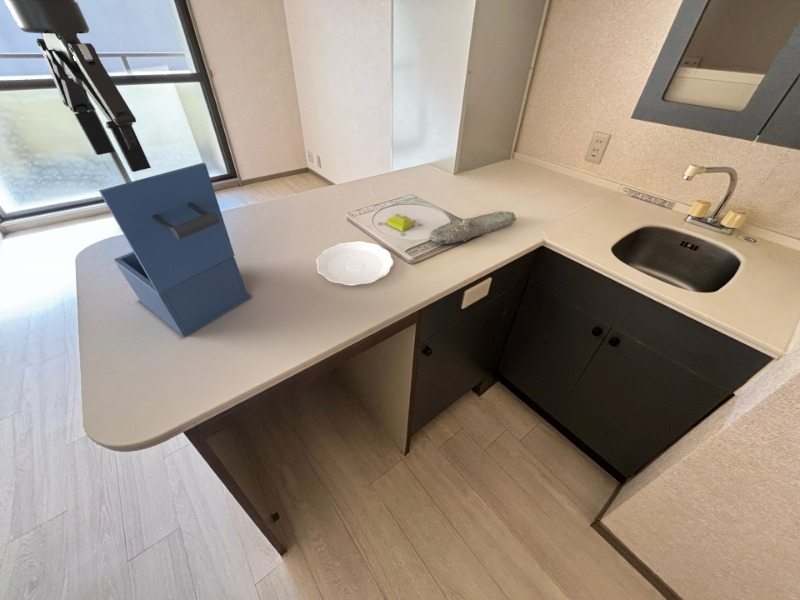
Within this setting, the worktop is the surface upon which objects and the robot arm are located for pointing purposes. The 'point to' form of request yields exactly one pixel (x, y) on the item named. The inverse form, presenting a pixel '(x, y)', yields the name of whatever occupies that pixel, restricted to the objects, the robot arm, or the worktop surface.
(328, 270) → the plate
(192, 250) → the cool box lid
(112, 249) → the worktop surface
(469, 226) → the elongated rock
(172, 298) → the cool box
